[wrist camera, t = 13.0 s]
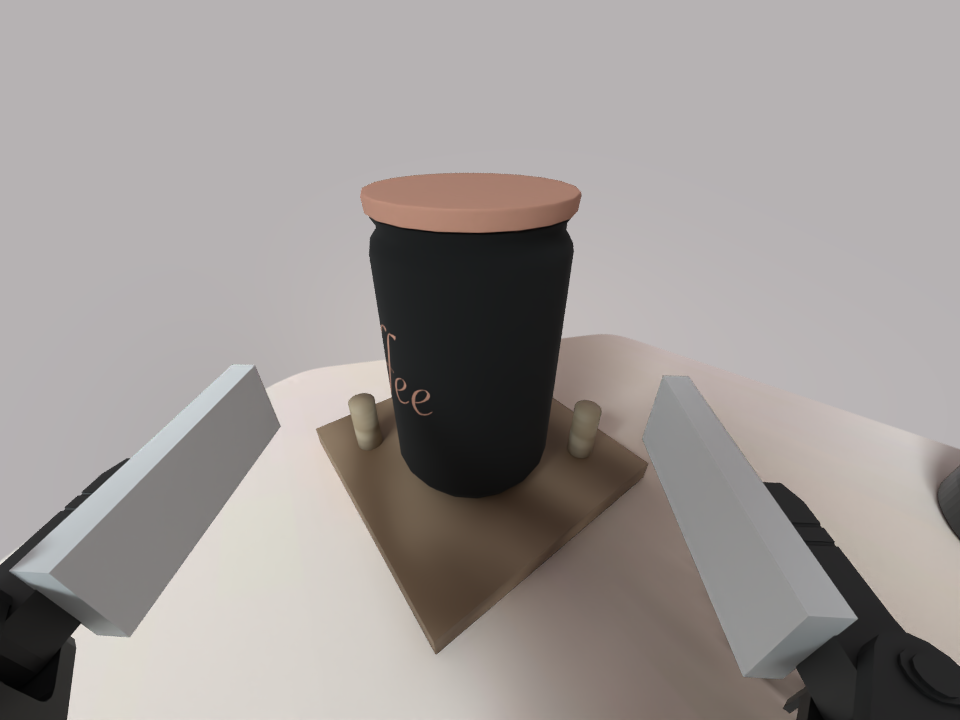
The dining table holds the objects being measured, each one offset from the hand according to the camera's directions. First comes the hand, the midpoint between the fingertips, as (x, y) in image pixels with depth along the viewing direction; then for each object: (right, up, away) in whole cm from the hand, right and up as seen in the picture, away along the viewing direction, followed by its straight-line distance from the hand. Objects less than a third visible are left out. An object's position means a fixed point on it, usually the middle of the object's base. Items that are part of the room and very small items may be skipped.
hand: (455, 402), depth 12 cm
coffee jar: (0, -5, +16) cm, 17 cm away
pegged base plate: (0, -6, +17) cm, 18 cm away
